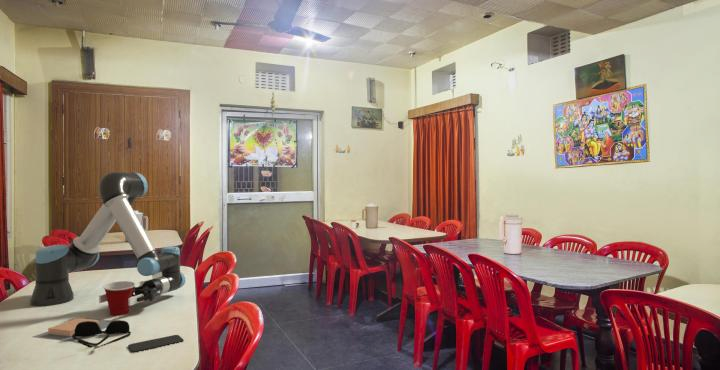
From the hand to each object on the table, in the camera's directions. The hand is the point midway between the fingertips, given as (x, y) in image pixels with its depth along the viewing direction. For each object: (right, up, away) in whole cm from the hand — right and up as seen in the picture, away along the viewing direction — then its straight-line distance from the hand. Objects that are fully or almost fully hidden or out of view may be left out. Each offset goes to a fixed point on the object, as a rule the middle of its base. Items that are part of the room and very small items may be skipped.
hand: (114, 300), depth 160 cm
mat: (-4, -7, -14) cm, 16 cm away
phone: (+28, -7, -26) cm, 39 cm away
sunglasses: (+10, -6, -26) cm, 29 cm away
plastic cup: (0, -7, +3) cm, 7 cm away
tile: (-3, -4, -11) cm, 12 cm away
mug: (-9, -7, +62) cm, 63 cm away
